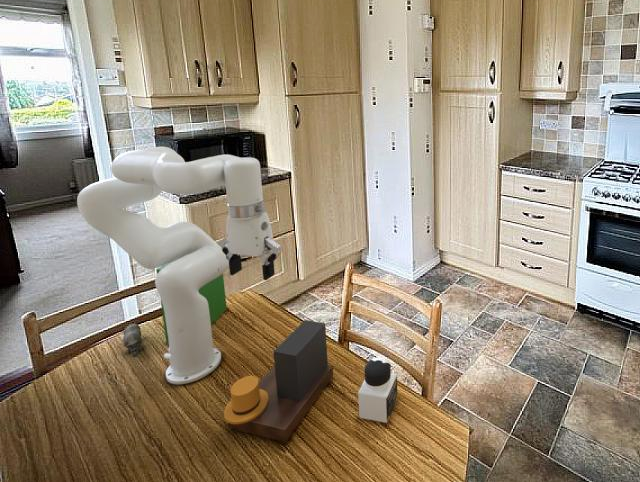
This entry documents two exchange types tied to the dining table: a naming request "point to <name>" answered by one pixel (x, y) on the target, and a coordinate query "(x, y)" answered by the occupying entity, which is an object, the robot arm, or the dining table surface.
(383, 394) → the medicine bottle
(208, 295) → the hardback book
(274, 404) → the brown flat slab
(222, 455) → the dining table surface
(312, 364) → the dark grey block
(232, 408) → the hat
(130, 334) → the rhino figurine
